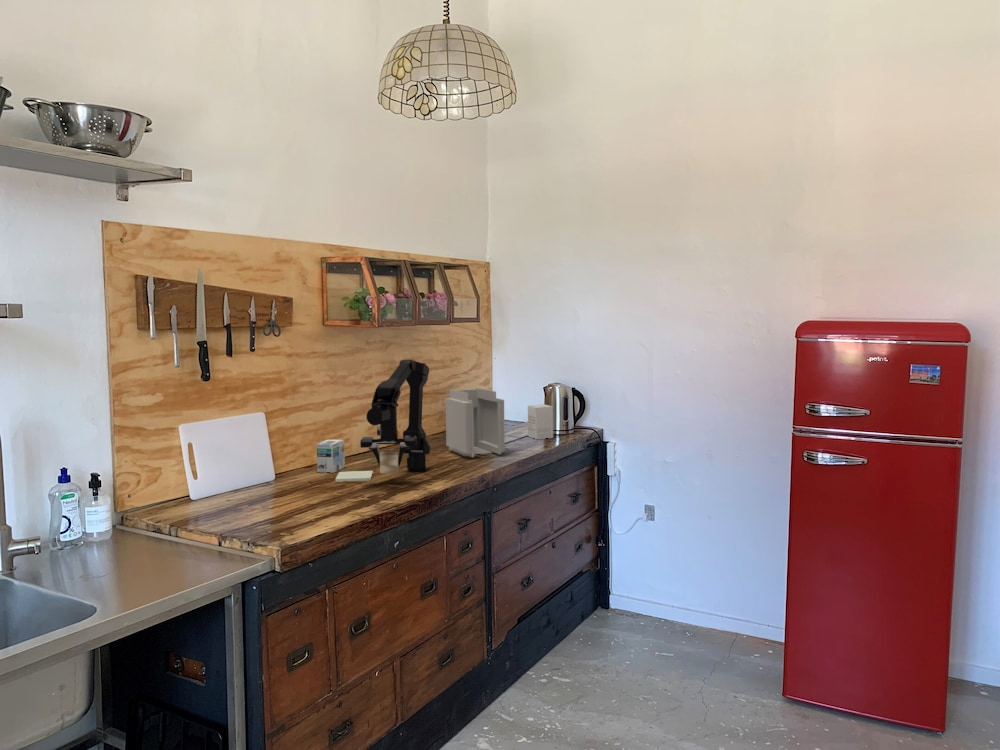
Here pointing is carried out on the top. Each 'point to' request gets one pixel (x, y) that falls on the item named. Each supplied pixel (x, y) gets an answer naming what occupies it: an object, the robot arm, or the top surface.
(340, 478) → the sage board
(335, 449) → the light bulb box
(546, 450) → the top surface
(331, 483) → the top surface
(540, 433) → the supplement box
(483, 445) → the gray open cabinet
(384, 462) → the birch cube
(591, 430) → the top surface
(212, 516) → the top surface
